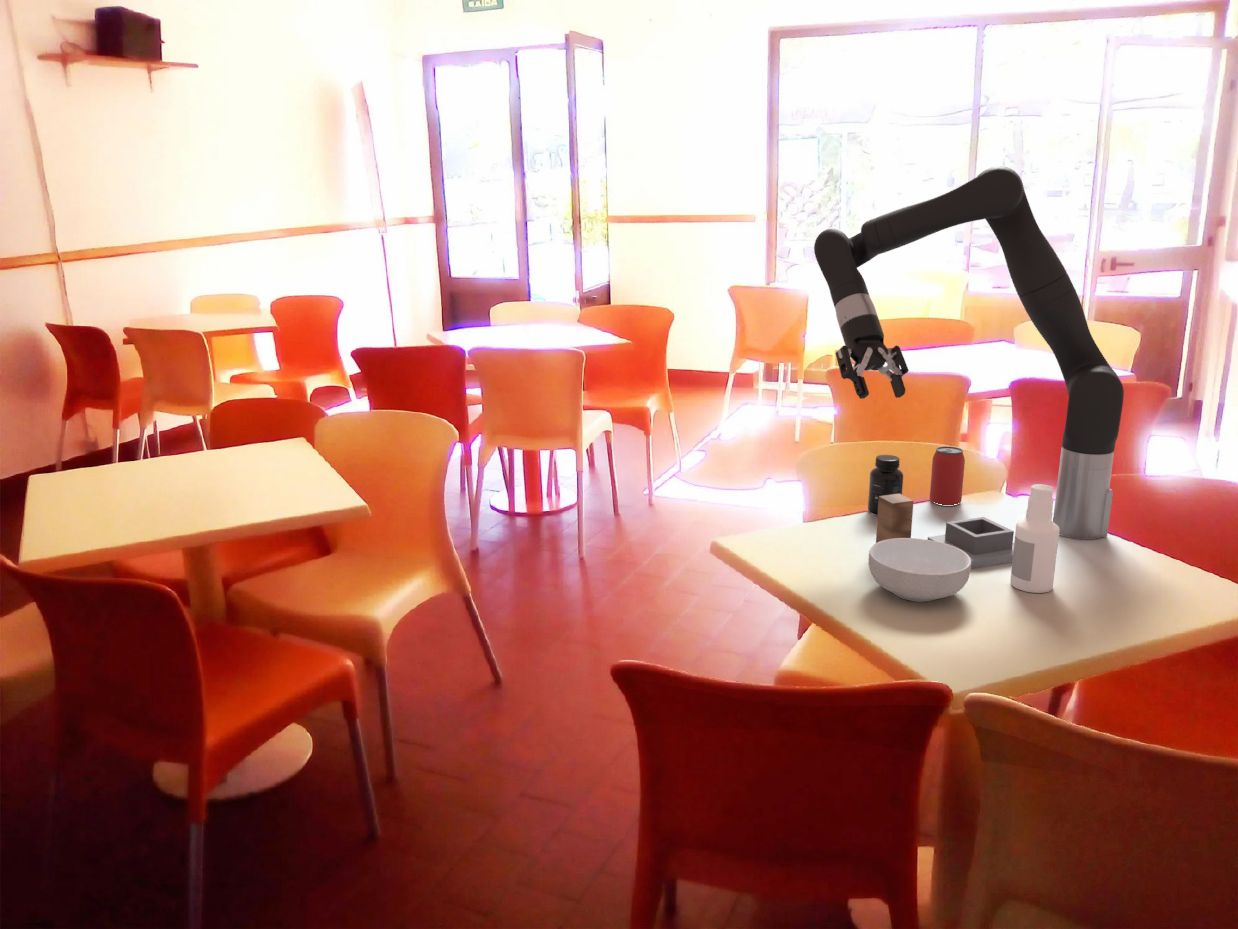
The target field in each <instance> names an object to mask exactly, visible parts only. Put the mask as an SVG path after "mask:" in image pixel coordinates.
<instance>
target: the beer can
mask: <svg viewBox="0 0 1238 929" xmlns="http://www.w3.org/2000/svg"><path fill="white" fill-rule="evenodd" d="M931 462H932V463H931V473H930V474H931V475H930V476H931V477H930V485H929V486H930V487H929V488H930V489H929V500H930V502H931V503H933V502H935V503H938V504H942V505H954V504H958V503H962V500H963V499H962V498H963V488H964V487H963V486H964V478H965V476H964V474H965V464H966V463H965V462H966V460H965V455H964V450H963V449H962V448H960V447H956V446H948V445H946V446H943V445H942V446H938V447H936V448H935V453H934V454H933V456H932V461H931ZM958 505H959V504H958Z"/></svg>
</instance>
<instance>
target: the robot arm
mask: <svg viewBox="0 0 1238 929" xmlns="http://www.w3.org/2000/svg"><path fill="white" fill-rule="evenodd" d="M980 220H985V221H986V222H987V224H988V226H989V227H990V229H991V230H992V232H993V234H994V235H995V237H996V239H997V241H998V243H999V245H1000V248H1001V249H1002V253H1003V256H1004V258H1005V259H1004V260H1005V264H1006V267H1007V269H1008V272H1009V276H1010V279H1011V281H1012V284H1013V286H1014V288H1015V292H1016V293H1017V296H1018V297H1019V300H1020V302H1021V304H1022V306H1023V307H1024V310H1025V312H1026V314H1027V316H1028V317H1029V318H1030V320H1031V322H1032V324H1033V325H1034V327H1035V329H1036V330H1037V331H1038V333H1039V334H1040V335H1041V337H1042V338H1043V339H1044V341H1045V342H1046V344H1047V345H1048V347H1049V348H1050V349H1051V351H1052V353H1053V355H1054V357H1055V359H1056V361H1057V363H1058V365H1059V369H1060V373H1061V375H1062V377H1063V380H1064V383H1065V386H1066V391H1067V394H1068V400H1067V402H1068V403H1067V409H1066V418H1065V426H1064V431H1063V433H1062V434H1063V435H1062V442H1061V449H1060V457H1059V467H1058V474H1057V482H1056V491H1055V492H1056V493H1055V500H1054V508H1053V509H1054V510H1053V516H1052V522H1054V523H1055V524H1056V525H1058V526H1059V530H1060V531H1059V536H1063V537H1066V538H1070V539H1076V540H1096V539H1100V538H1108V532H1109V525H1110V518H1111V512H1112V511H1111V510H1112V509H1111V508H1112V504H1113V495H1114V492H1113V491H1114V490H1112V488H1110V485H1111V477H1112V470H1113V463H1114V455H1115V448H1116V443H1117V442H1116V441H1117V439H1118V437H1119V434H1120V433H1119V432H1120V425H1121V420H1122V411H1123V407H1124V406H1123V405H1124V397H1125V396H1124V395H1125V394H1124V393H1125V390H1124V386H1123V384H1122V381H1121V379H1120V378H1119V376H1118V374H1117V373H1116V371H1115V370H1114V369H1113V368H1112V367H1111V365H1110V364H1109V363H1108V362H1109V361H1107V359H1106V358H1105V357H1104V356H1105V355H1103V353H1102V351H1101V349H1100V348H1099V346H1098V345H1097V343H1096V342H1095V340H1094V338H1093V336H1092V333H1091V331H1090V329H1089V325H1088V320H1087V319H1086V315H1085V311H1084V308H1083V305H1082V302H1081V300H1080V297H1079V295H1078V293H1077V290H1076V288H1075V286H1074V284H1073V281H1072V280H1071V278H1070V276H1069V274H1068V273H1067V270H1066V268H1065V266H1064V265H1063V263H1062V262H1061V259H1060V258H1059V256H1058V254H1057V253H1056V252H1055V249H1054V248H1053V246H1052V245H1051V243H1050V242H1049V241H1048V239H1047V238H1046V236H1045V235H1044V233H1043V232H1042V231H1041V228H1040V227H1039V225H1038V223H1037V220H1036V218H1035V216H1034V213H1033V211H1032V208H1031V206H1030V203H1029V200H1028V196H1027V194H1026V192H1025V186H1024V183H1023V180H1022V178H1021V176H1020V175H1019V174H1018V173H1017V172H1016V171H1015V170H1014V169H1012V168H1010V167H1007V166H998V165H997V166H993V167H989V168H987V169H985V170H982V171H981V172H980V173H979V174H978V175H977V176H976V177H974V178H972V179H971V180H968V181H967V182H965V183H964V184H962V185H960V186H958V187H957V188H954V189H952V190H950V191H948V192H946V193H944V194H941V195H938V196H936V197H933V198H931V199H928V200H925V201H924V200H923V201H922V202H918V203H915V204H914V203H913V204H911V205H907V206H905V207H901V208H899V209H896V210H893V211H890V212H887V213H884V214H883V215H880V216H877V217H874V218H871V219H869V220H868V221H865V222H864V223H863V224H862V226H861V228H860V232H859V233H856V234H855V235H854V236H852V237H850V238H849V237H848V236H847V235H846V234H845V232H843V231H842V230H840V229H838V228H837V229H836V228H828V229H825V230H823V231H821V232H820V233H819V234H818V235H817V237H816V239H815V241H814V246H813V250H814V251H813V252H814V255H815V260H816V262H817V265H818V267H819V269H820V271H821V274H822V276H823V278H824V280H825V281H826V284H827V286H828V288H829V293H830V297H831V300H832V303H833V307H834V309H835V314H836V321H837V323H838V326H839V330H840V333H841V336H842V339H843V342H844V345H842V346H841V347H840V348H839V349H837V351H836V352H835V356H836V360H837V364H838V369H839V372H840V376H841V379H844V380H846V379H848V380H850V381H851V382H852V384H853V387H854V391H855V393H856V395H857V397H858V398H859V399H862V400H863V399H865V398H867V397H868V396H869V395H870V392H869V389H868V386H867V383H866V380H865V376H863V373H864V372H865V371H867V372H868V371H878V373H880V374H881V375H885V376H886V377H887V378H888V380H890V382H889V383H890V385H891V388H892V391H893V394H894V397H895V398H896V399H900V398H902V397H903V396H905V393H906V387H905V384H904V381H903V376H905V375H907V373H908V372H909V368H908V365H907V362H906V360H905V357H904V355H903V352H902V350H901V347H900V346H899V345H894V346H893V347H890V348H888V347H887V346H886V345H885V343H884V341H885V340H884V338H885V335H884V331H883V328H882V325H881V322H880V319H879V316H878V312H877V309H876V307H875V304H874V302H873V301H872V299H871V297H870V294H869V290H868V287H867V284H866V282H865V280H864V278H863V275H862V274H861V272H860V271H859V269H858V268H860V267H861V266H863V265H864V264H866V263H868V262H870V261H872V260H873V259H874V258H875V257H877V256H878V255H881V254H884V253H887V252H890V251H894V250H895V249H898V248H901V247H904V246H907V245H909V244H911V243H914V242H917V241H918V240H921V239H923V238H926V237H928V236H930V235H933V234H935V233H937V232H940V231H943V230H945V229H949V228H952V227H956V226H958V225H959V226H960V225H963V224H967V223H970V222H976V221H980ZM852 361H854V363H852ZM885 363H886V365H885ZM884 365H885V366H884Z"/></svg>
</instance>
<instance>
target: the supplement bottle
mask: <svg viewBox="0 0 1238 929" xmlns="http://www.w3.org/2000/svg"><path fill="white" fill-rule="evenodd" d="M874 465H875V467H874V468H872V470H871V471H870V473H869V481H868V501H867V509H868V512H869V513H871V514H872V515H874V516H878V500H879V496H884V495H892V494H901V495H903V487H904V474H903V471H902V470H901V469H899V468H900V466H901V465H900V457H898V456H897V455H892V454H880V455H877V456H876V457H875V463H874Z"/></svg>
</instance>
